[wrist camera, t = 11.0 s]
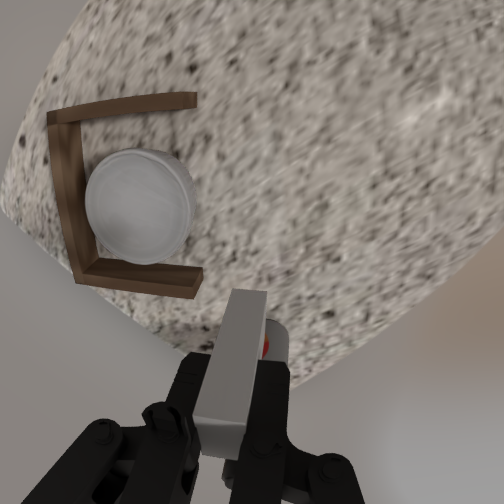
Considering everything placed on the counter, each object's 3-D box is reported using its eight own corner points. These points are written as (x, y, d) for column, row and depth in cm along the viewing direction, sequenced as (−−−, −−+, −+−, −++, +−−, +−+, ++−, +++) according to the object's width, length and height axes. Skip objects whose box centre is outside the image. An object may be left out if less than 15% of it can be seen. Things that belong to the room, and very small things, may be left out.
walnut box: (69, 108, 28) (46, 112, 24) (196, 92, 26) (182, 91, 23) (91, 267, 37) (75, 283, 33) (203, 279, 35) (193, 299, 32)
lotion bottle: (234, 327, 38) (195, 476, 20) (275, 311, 36) (255, 473, 19) (257, 356, 40) (233, 498, 22) (297, 343, 38) (289, 494, 20)
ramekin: (197, 132, 28) (178, 139, 24) (214, 239, 33) (201, 263, 29) (101, 151, 30) (72, 162, 25) (123, 244, 35) (101, 266, 30)
